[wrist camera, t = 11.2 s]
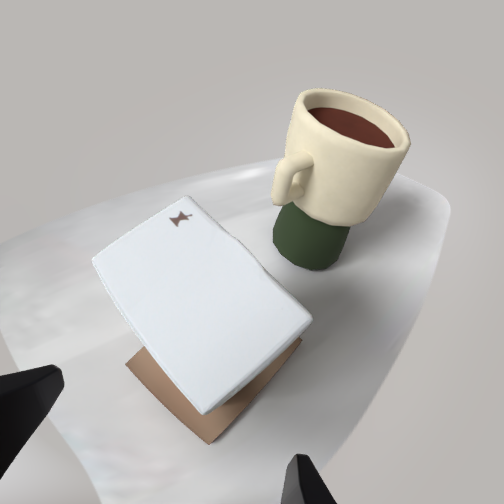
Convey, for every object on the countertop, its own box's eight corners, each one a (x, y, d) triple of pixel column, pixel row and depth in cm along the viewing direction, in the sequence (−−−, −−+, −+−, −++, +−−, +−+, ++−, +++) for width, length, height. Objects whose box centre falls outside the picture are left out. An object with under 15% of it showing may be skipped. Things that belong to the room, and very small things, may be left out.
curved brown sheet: (209, 443, 15) (208, 445, 14) (128, 365, 17) (125, 364, 16) (300, 341, 19) (302, 340, 19) (219, 277, 22) (219, 273, 21)
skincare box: (161, 344, 18) (85, 254, 8) (207, 308, 19) (188, 187, 9) (218, 410, 16) (201, 421, 5) (265, 370, 17) (321, 312, 7)
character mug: (320, 195, 27) (359, 83, 16) (368, 243, 25) (436, 135, 14) (232, 242, 23) (239, 101, 12) (284, 307, 21) (346, 181, 10)
